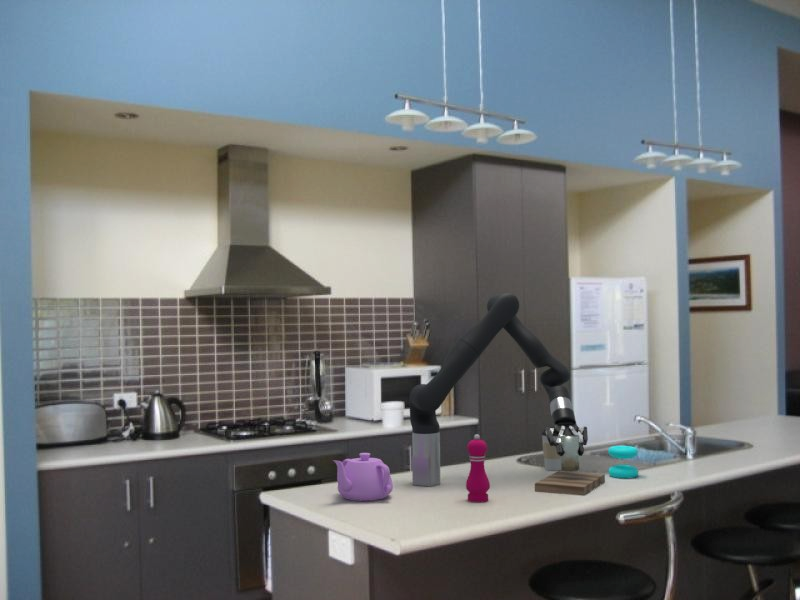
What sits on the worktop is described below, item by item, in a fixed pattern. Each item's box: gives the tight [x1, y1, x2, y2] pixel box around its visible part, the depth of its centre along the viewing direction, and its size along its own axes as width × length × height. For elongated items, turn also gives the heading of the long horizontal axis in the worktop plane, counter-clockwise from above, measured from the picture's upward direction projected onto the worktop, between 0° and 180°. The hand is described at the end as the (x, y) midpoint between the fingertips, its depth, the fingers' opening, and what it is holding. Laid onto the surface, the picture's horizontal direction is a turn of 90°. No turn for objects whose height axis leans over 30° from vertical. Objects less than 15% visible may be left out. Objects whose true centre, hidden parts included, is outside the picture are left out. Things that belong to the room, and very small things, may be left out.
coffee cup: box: [541, 426, 562, 472], centre depth 313 cm, size 9×9×15 cm
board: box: [534, 470, 606, 496], centre depth 280 cm, size 24×16×2 cm, turn 152°
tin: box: [560, 434, 581, 472], centre depth 281 cm, size 6×6×11 cm
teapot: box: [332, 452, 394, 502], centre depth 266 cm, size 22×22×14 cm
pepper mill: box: [465, 433, 491, 503], centre depth 262 cm, size 7×7×20 cm
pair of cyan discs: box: [607, 445, 639, 479], centre depth 297 cm, size 10×10×10 cm
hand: (571, 454), depth 279 cm, fingers closed on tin, 6 cm apart
